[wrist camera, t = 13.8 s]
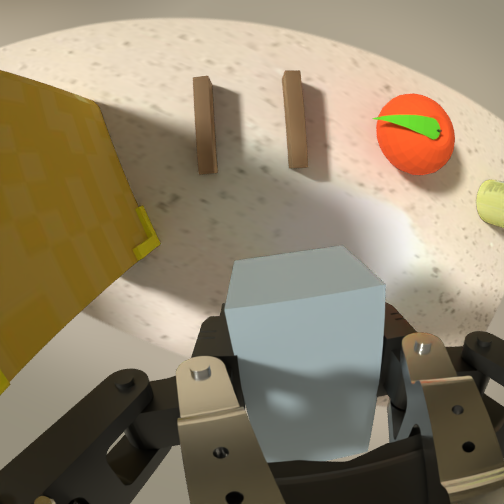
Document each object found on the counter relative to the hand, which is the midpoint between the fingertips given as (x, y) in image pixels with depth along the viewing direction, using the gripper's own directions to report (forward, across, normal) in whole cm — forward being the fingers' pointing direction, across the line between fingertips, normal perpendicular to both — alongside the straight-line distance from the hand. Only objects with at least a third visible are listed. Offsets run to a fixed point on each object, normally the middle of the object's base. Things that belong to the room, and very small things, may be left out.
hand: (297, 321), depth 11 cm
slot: (+16, +1, -10) cm, 18 cm away
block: (0, 0, +1) cm, 1 cm away
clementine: (+16, -12, -8) cm, 22 cm away
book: (+16, +16, -7) cm, 23 cm away
